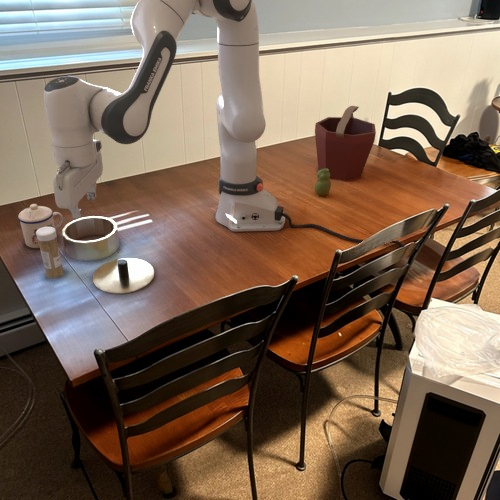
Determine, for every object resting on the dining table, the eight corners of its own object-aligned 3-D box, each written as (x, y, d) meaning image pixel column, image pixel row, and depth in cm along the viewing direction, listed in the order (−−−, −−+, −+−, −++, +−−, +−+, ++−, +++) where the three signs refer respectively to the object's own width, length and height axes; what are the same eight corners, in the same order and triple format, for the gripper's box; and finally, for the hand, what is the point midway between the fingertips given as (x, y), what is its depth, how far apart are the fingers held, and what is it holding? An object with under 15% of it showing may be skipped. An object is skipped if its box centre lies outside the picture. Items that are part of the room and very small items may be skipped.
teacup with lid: (34, 253, 136) (25, 216, 130) (18, 240, 141) (9, 204, 135) (73, 237, 143) (66, 202, 137) (57, 226, 149) (50, 192, 142)
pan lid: (160, 263, 134) (159, 247, 131) (145, 298, 120) (144, 281, 118) (104, 259, 134) (102, 243, 132) (84, 293, 121) (81, 277, 118)
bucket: (331, 156, 206) (339, 96, 192) (380, 169, 195) (392, 107, 182) (301, 174, 189) (307, 110, 175) (353, 190, 178) (364, 122, 165)
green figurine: (321, 199, 170) (325, 173, 165) (310, 194, 174) (313, 168, 168) (332, 195, 174) (335, 169, 168) (321, 190, 177) (324, 164, 172)
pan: (125, 237, 145) (123, 218, 141) (109, 264, 132) (107, 244, 129) (77, 233, 146) (74, 214, 142) (57, 260, 133) (53, 240, 130)
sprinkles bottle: (66, 276, 127) (57, 231, 120) (48, 281, 125) (38, 236, 118) (61, 268, 130) (52, 224, 123) (44, 273, 128) (33, 228, 121)
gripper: (70, 172, 101) (81, 230, 108) (103, 138, 118) (111, 190, 125) (40, 170, 101) (54, 228, 108) (78, 137, 118) (87, 189, 126)
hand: (85, 208), depth 117 cm, fingers open, 8 cm apart
